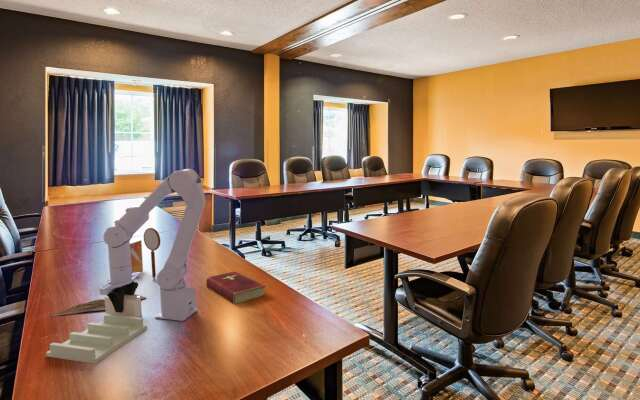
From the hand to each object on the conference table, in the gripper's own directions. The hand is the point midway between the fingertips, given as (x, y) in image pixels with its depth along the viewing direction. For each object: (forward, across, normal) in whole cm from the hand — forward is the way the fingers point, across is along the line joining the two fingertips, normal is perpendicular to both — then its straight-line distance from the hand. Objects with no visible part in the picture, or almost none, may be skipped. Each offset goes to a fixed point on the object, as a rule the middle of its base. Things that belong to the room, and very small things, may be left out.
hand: (123, 309), depth 115 cm
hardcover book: (+3, -26, +23) cm, 35 cm away
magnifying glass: (+2, -30, -12) cm, 33 cm away
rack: (+2, +14, +5) cm, 15 cm away
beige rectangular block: (+2, 0, 0) cm, 2 cm away
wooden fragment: (+2, -4, -12) cm, 13 cm away
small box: (+2, -34, -26) cm, 43 cm away
